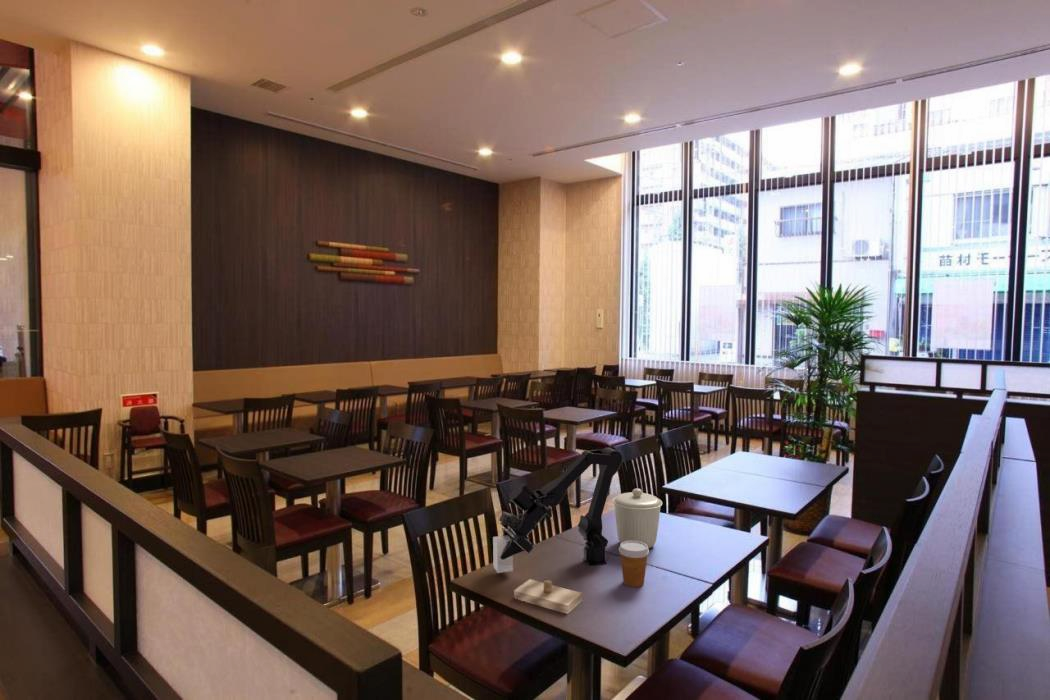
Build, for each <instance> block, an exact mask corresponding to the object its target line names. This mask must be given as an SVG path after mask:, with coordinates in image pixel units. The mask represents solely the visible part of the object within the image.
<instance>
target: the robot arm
mask: <svg viewBox="0 0 1050 700" xmlns="http://www.w3.org/2000/svg"><path fill="white" fill-rule="evenodd" d="M622 463H623V456H622V454H621V452H620V451H618V450H616V449H613V448H611V447H603V448H602V449H593V450H583V451H582V452H581V455H579V456H578V457H577V458H576V459H575V460H574V462H572V463H571V464H570V465H569V466H568V467H567V468H566V469H565V471H563V472H562V473H561V474H560V475H559V476H558V477H557V478H556V479H554V480H552V481H549V482H548V483H545V485H544V486H542V487H541V488H540V489H536V490H530V489H529V487H528V485H526V484H524V483H522V484H521V485H520V486H517V487H516V488H514V489H513V490H512V491H511V493H510V494H509V496H508V497H509V501H511V503H513V504H514V505H515V506H517V508H519V509H520V511H524V512H523V513H518V515H515V514H512V513H509V512H508V511H507V512H506V511H502V512H501V515H500V517H499V522H500V525H501V526H502V528H501V530H502V536H505V535H509V537H510V544H509V545H508V547H507V548H506V550H505V551H504V552H503V554H502V556H501V559H502V560H504V559H506V558H508V557H510V556H512V555H513V556H515V555H517V554H520V553H525V552H527V553H528V554H530V553H531V552H532V551H533V549H534V545H533V544H532V542H531V541H530V540H529V537H528V536H529V534H530V533H531V532H532V531H533V530H534V531H536V530H537V525H538V524H539V523H540V522H541V520H542V519H544V517H545V516H546V515H547V516H548V517H549V518H552V517H553V514H552V513H553V512H552V511H553V509H552V507H554V508H555V507H557V506H558V505H559V504H560V503H561V502H562V500H563V499H564V497H565V495H566V493H567V491H568V490H569V488H570V487H571V485H573V483H575V481H577V480H578V479H579V478H580V477H581V476H582V474H584V473H585V471H586V470H587V469H588V468H589V467H590V466H591V465H598V471H599V473H598V476H597V479H596V483H595V487H594V491H593V494H592V497H591V501H590V504H589V507H588V511H587V513H585V514H584V515H582V514H581V515H580V517H579V522H578V524H577V527H578V533H579V534H580V536H581V537H582V538H583V540H584V541H585V542H584V547H583V560H584V561H586V563H587V565H589V566H593V565H601V564H604V565H605V564H607V563H608V561H607V560H606V548H607V546H608V544H609V540H608V539H607V538H606V536H604V535H603V519H602V517H603V512H604V510H605V506H606V503H607V498H608V495H609V491H610V489H611V485H612V484H611V483H612V481H613V477H614V476H615V475H616V473H618V472H619V469H620V468H621V465H622ZM536 500H537V501H538V502H536ZM545 505H546V506H545ZM547 506H548V507H547Z"/></svg>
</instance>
